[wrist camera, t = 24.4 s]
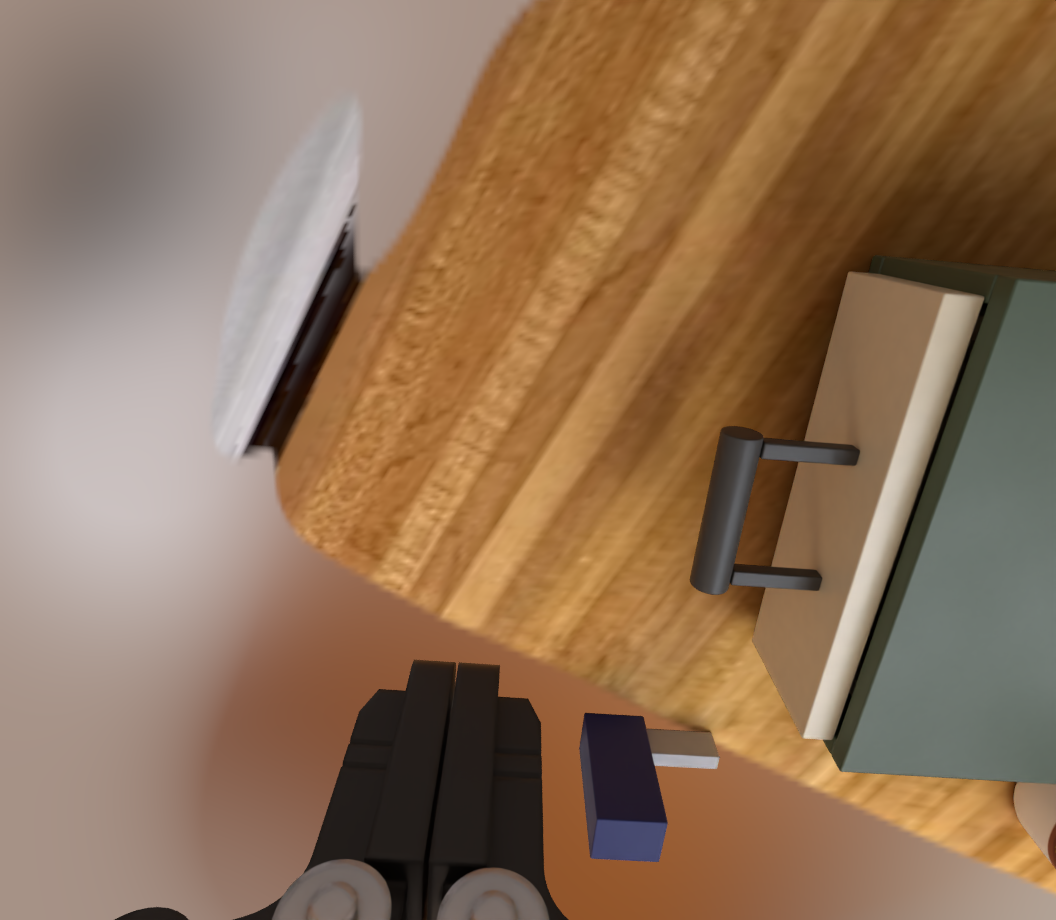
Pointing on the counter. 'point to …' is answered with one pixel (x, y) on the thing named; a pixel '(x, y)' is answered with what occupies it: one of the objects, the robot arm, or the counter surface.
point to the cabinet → (973, 562)
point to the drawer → (843, 488)
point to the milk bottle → (1038, 814)
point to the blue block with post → (632, 782)
